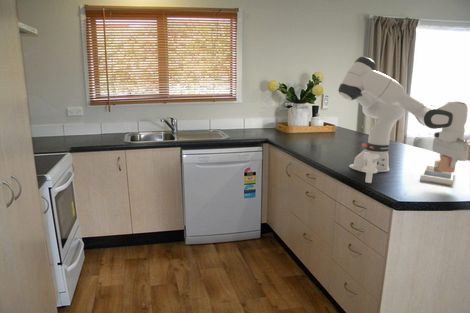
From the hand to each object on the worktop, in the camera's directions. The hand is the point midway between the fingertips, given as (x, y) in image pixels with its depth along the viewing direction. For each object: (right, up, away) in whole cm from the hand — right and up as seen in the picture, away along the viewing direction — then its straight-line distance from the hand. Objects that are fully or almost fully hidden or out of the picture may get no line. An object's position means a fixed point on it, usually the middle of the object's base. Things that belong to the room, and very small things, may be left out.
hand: (447, 165), depth 166 cm
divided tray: (+7, -7, +21) cm, 23 cm away
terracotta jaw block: (0, -3, +1) cm, 3 cm away
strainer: (-33, -9, +10) cm, 36 cm away
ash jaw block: (+11, -5, +26) cm, 28 cm away
